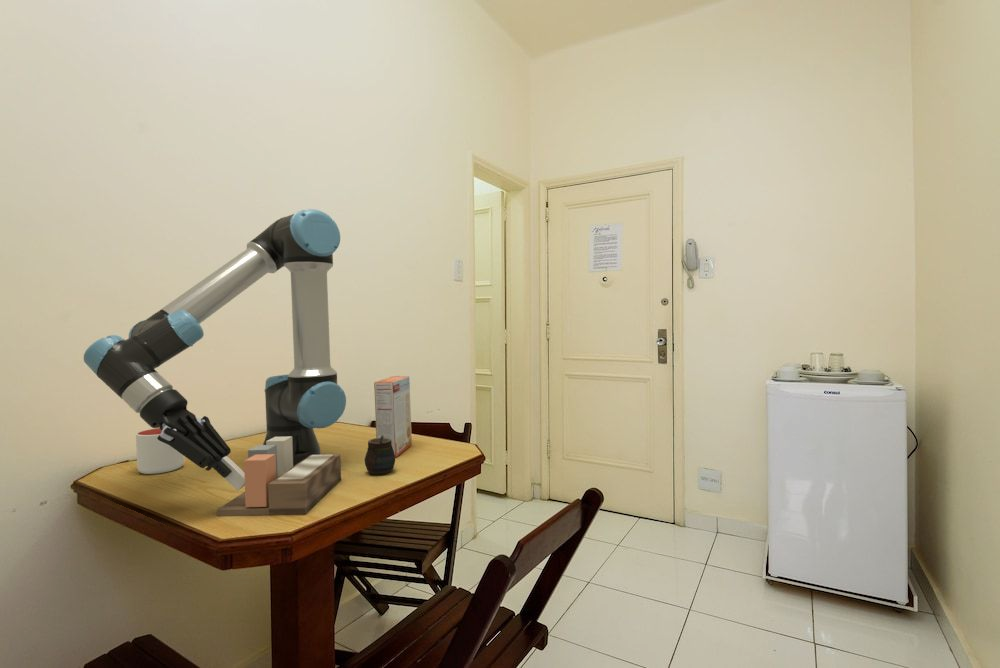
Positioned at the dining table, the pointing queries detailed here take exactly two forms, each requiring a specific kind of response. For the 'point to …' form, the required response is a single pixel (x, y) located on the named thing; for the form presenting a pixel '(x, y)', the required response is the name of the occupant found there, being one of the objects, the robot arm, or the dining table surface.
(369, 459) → the mate gourd
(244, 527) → the dining table surface
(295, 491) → the key console
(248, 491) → the pink tall block
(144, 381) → the robot arm
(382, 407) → the cracker box
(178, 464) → the cup
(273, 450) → the slate key
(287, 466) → the ivory key
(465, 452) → the dining table surface
